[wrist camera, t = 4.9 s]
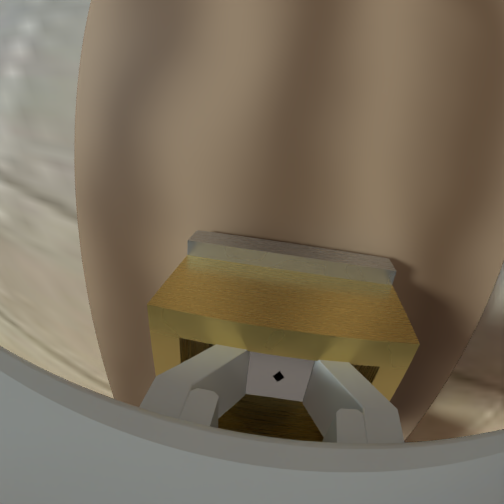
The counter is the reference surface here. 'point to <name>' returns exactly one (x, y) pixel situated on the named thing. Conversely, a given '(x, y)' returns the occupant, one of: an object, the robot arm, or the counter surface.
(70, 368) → the counter surface
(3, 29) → the counter surface
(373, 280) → the sled
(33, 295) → the counter surface
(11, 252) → the counter surface
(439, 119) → the tunnel deck
